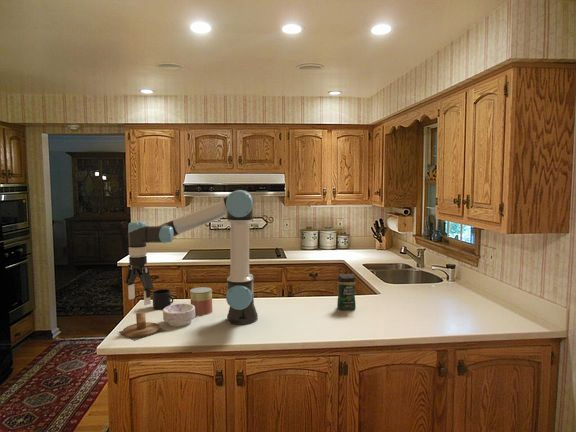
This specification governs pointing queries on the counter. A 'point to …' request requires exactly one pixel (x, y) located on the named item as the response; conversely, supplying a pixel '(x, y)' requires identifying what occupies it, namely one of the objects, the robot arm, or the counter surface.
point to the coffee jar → (346, 292)
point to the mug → (161, 299)
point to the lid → (141, 327)
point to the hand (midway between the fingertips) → (139, 301)
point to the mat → (141, 337)
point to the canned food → (201, 300)
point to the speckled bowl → (179, 314)
